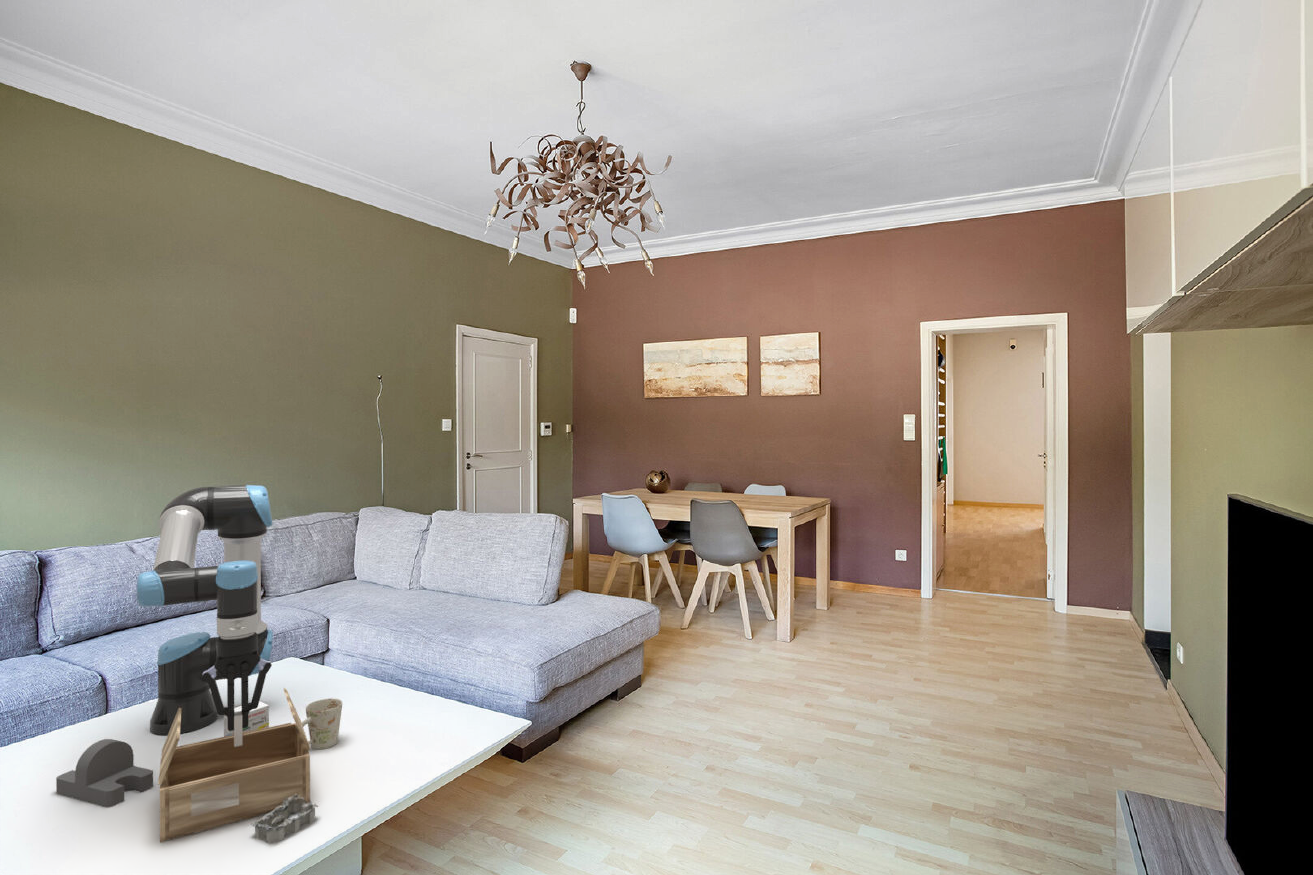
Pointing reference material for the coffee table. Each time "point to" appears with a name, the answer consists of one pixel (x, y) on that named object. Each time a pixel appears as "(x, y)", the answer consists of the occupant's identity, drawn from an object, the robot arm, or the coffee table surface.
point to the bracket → (104, 775)
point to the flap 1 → (170, 746)
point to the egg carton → (284, 819)
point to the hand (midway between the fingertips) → (238, 743)
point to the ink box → (251, 719)
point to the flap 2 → (297, 719)
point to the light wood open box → (232, 779)
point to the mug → (323, 722)
